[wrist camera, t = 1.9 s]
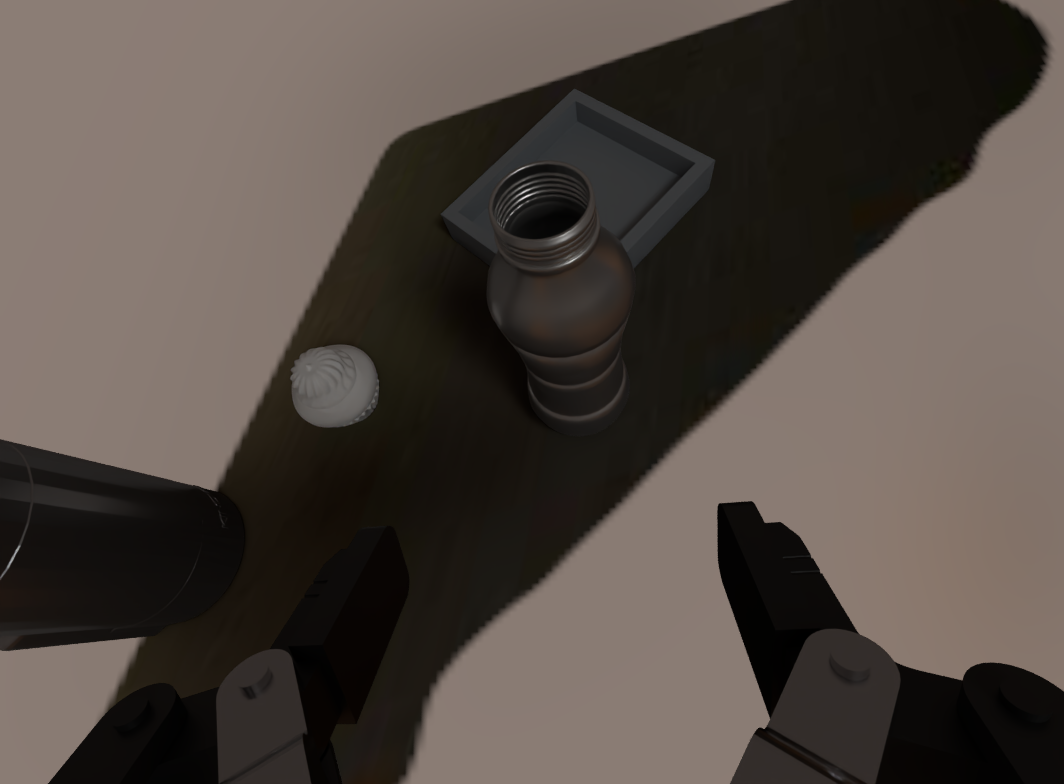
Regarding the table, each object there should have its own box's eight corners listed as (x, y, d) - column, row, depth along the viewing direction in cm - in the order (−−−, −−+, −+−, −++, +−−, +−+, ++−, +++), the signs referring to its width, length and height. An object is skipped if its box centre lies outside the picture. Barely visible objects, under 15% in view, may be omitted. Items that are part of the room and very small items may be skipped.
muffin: (412, 392, 38) (370, 353, 32) (357, 456, 37) (302, 429, 30) (359, 351, 40) (309, 306, 34) (305, 410, 39) (243, 375, 33)
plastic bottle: (531, 364, 37) (445, 146, 19) (624, 353, 36) (627, 114, 18) (536, 448, 35) (443, 293, 16) (635, 439, 34) (653, 264, 16)
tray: (576, 329, 38) (572, 308, 35) (452, 238, 43) (440, 214, 40) (708, 189, 40) (715, 160, 38) (577, 119, 45) (574, 88, 43)
